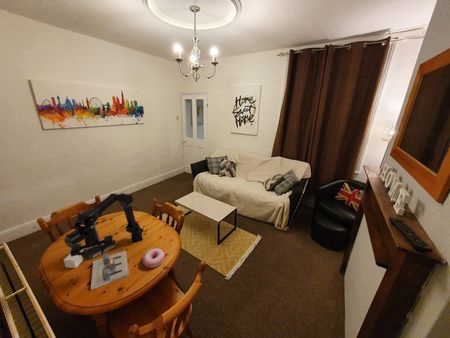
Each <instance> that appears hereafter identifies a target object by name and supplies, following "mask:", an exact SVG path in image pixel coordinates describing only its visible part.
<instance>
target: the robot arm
mask: <svg viewBox="0 0 450 338" xmlns="http://www.w3.org/2000/svg"><path fill="white" fill-rule="evenodd" d="M116 202H118V203H119V204H120V206H121V207H122V208H123V211H124V215H125V218H126V222H127V224H126V226H125V231H126V232H127V233H130V238H131V242H132V244H135V243H138V242H141V241H143V240H144V239H143V232H144V228H143V227H142V228H141V226H140V224H139V223H138V222H137V221H136V218H135V217H136V216H135V214H134V209H133V205H132V204H133V203H134V199H133V195H132V194H128V193H123V192H122V193H120V194H119V193H114V192H113V193H109V196H106V198H104V199H103V200H101V201H100V202H99V203H98V204H96V205H95V206H94V207H92V208H91V209H88V210H87V209H86V210H84V211H83V212H81V213H80V214H78V216H77V218H76V221H75V223H74V225H73V227H72V228H73V231H72V232H70V233H68V234H66V235H65V238H64V240H63V241H64V244H65V245H66V246H67V247H68V248H69V249H70V251H69V254H71V256H76V255H81V256H82V257H83V258H84V259H85V258H86V259H87V260H88V261H89V260H90V259H91V258H90V257H89V254H88V252H87V249H89V248H91V247H94V246H98V245H100V244H101V254H100V255H101V256H103V255H104V253H105V252H104V250H105V248H106V247H107V246H109V245H112V244H113V240H114V238H113V235H111V234H110V235H106V236H103V237H104V238H102V239H101V240H100V236H99V231H98V230H97V229H96V225H98V224H99V223H100V222H99V221H98V219H99V217H100V215H101V214H102V213H104V212H105V211H106V210H107V209H108V208H109V207H111V206H113V204H115V203H116ZM82 225H83V226H82ZM83 241H84V243H85V244H84V245H82V243H81V242H83Z"/></svg>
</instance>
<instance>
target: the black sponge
mask: <svg viewBox="0 0 450 338" xmlns="http://www.w3.org/2000/svg"><path fill="white" fill-rule="evenodd" d="M116 246H117V243H116V240H115V239H113V244H112V245H109V246H107V247H106V248H105V250H104V252H103V253H106V252H107V251H109V250H111V249H113V248H115V247H116ZM87 252H88V254H89V257H90V259H92V258H95V257H97V256H100V255H102V254H101V244H100V245H98V246H94V247H91V248H88V249H87Z"/></svg>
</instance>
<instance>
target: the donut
mask: <svg viewBox="0 0 450 338" xmlns="http://www.w3.org/2000/svg"><path fill="white" fill-rule="evenodd" d="M165 258H166V254H165V252H164V250H163V249H161V248H159V247H158V248H151V249H149V250H147V251H146V252H145V253H144V255H143V257H142V262H143V263H142V264H143V265H144V266H145V267H147V268H155V267H159V265H162V263H163V262H164V260H165Z"/></svg>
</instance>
